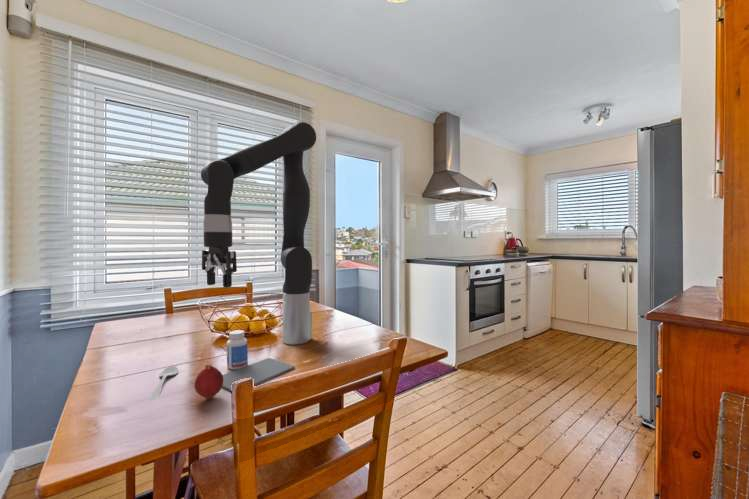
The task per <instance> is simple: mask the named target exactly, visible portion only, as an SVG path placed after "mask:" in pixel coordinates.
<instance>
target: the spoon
mask: <svg viewBox="0 0 749 499" xmlns="http://www.w3.org/2000/svg"><path fill="white" fill-rule="evenodd" d="M177 374H179V368H178V367H177V366H176V365H169V366H167V367H165V369H163V370H162V371H161V373H160V374H159V377H161V380H160V382H159V384H157V386H156V387H155V389H154V390H153V392H152V393H151V395H150V396H149V397H148V398H149V400H150V401H154V400H156V399H157V398H159V397H160V395H161V392H162V388H163V386H164V382H165V380H166V379H167V378H168V377H173V376H175V375H177Z"/></svg>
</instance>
